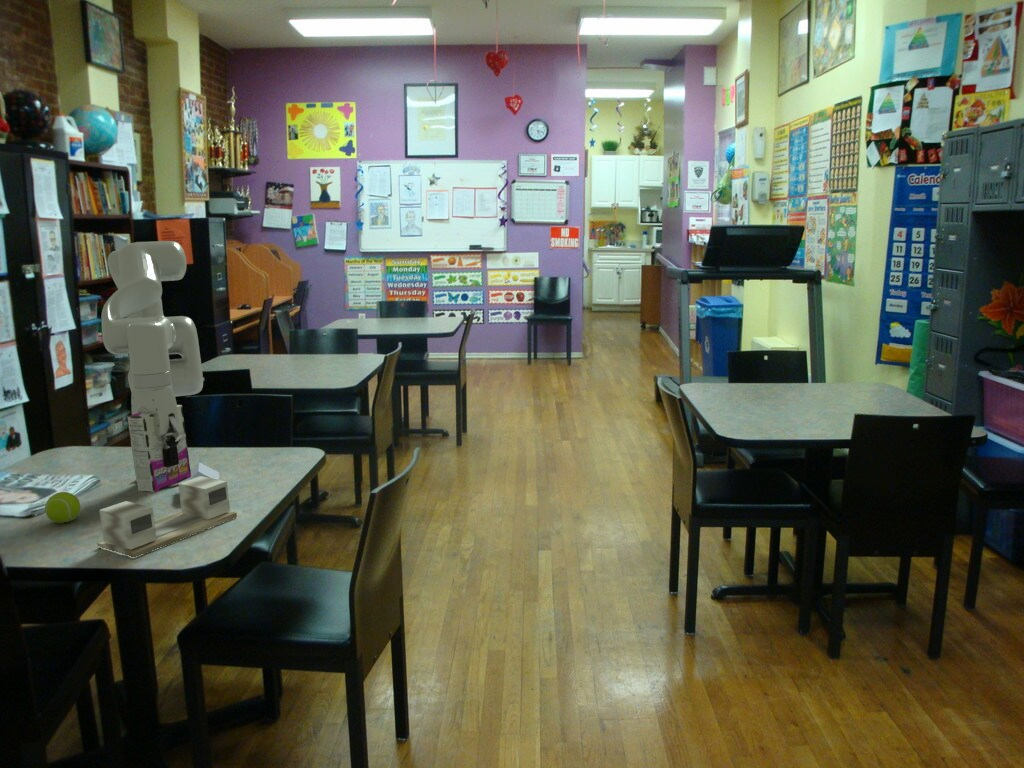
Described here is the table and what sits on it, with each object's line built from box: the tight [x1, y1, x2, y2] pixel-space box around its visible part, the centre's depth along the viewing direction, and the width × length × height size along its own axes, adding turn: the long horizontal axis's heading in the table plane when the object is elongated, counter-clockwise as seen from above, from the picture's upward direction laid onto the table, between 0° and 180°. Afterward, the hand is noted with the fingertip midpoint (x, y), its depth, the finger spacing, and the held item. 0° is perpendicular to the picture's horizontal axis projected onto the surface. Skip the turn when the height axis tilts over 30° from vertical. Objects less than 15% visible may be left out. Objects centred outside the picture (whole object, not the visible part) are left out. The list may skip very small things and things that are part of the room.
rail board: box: [97, 476, 238, 557], centre depth 181 cm, size 12×26×8 cm, turn 148°
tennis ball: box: [44, 491, 81, 524], centre depth 190 cm, size 7×7×7 cm
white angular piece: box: [181, 462, 220, 482], centre depth 206 cm, size 9×7×13 cm
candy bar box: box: [126, 404, 191, 494], centre depth 178 cm, size 11×5×16 cm, turn 159°
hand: (162, 463), depth 179 cm, fingers closed on candy bar box, 5 cm apart
